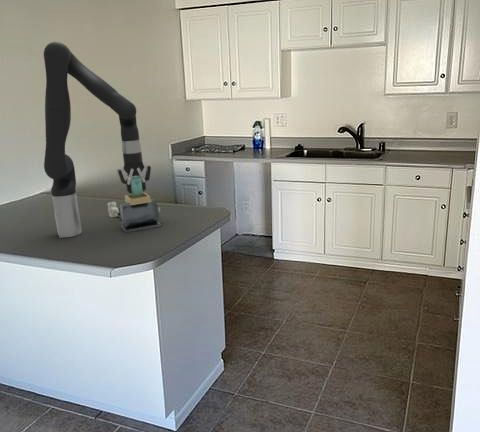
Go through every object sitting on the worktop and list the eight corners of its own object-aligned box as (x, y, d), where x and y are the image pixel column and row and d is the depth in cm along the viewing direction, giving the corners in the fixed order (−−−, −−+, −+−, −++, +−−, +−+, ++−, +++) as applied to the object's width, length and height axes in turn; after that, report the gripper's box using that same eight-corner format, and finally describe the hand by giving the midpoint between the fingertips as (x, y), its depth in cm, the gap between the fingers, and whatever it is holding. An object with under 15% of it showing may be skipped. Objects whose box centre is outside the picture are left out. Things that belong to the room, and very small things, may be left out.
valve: (104, 217, 220) (119, 221, 212) (102, 203, 218) (117, 207, 210) (117, 214, 224) (131, 218, 216) (115, 200, 223) (130, 204, 215)
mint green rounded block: (129, 193, 200) (127, 177, 198) (141, 191, 202) (139, 175, 200) (133, 196, 194) (131, 180, 192) (145, 195, 196) (143, 178, 194)
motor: (126, 232, 195) (122, 200, 191) (120, 226, 204) (116, 196, 200) (164, 225, 202) (161, 194, 198) (157, 220, 210) (154, 190, 207)
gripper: (116, 154, 187) (121, 196, 192) (151, 150, 193) (156, 191, 198) (112, 152, 194) (117, 192, 198) (146, 148, 200) (151, 187, 204)
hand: (136, 191), depth 198 cm, fingers closed on mint green rounded block, 5 cm apart
